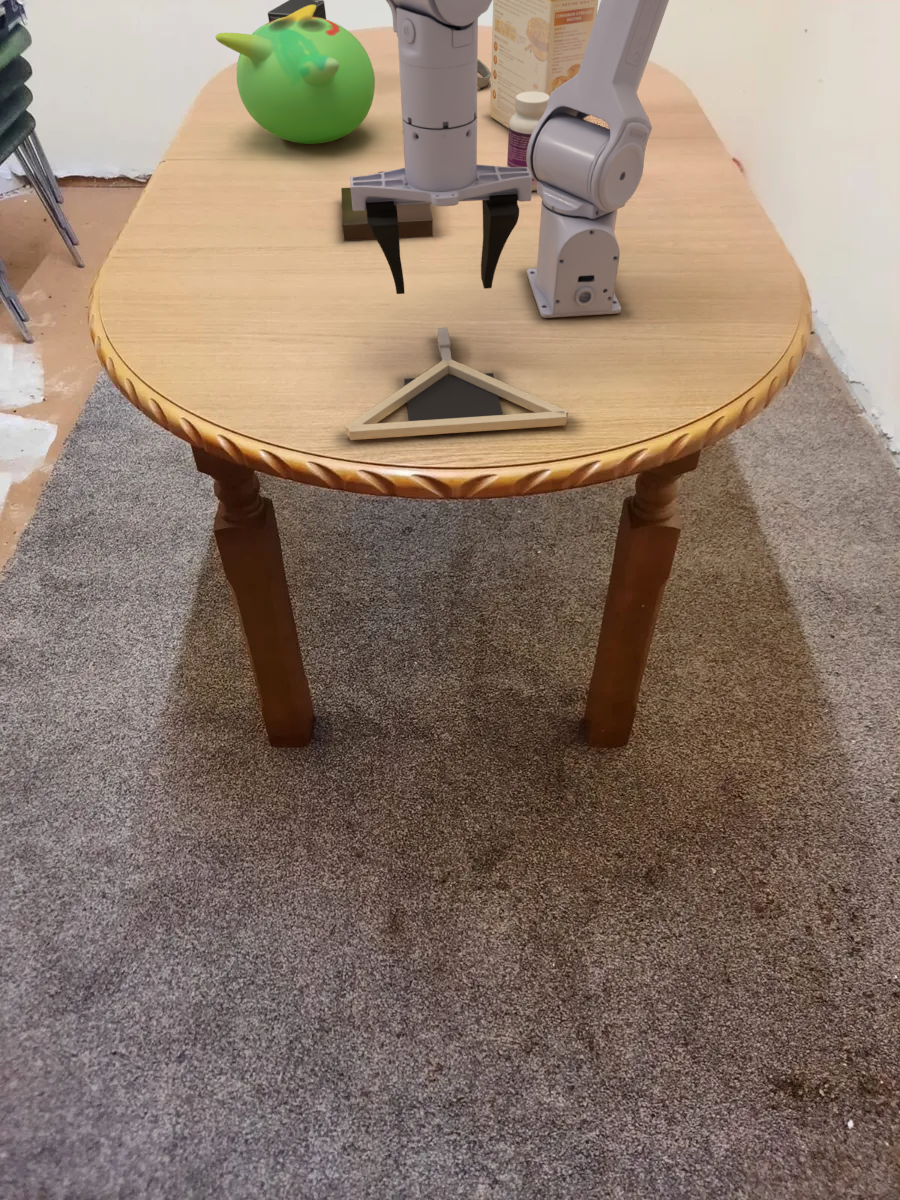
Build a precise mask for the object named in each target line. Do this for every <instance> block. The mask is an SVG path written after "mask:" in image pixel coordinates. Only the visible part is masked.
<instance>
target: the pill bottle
mask: <svg viewBox="0 0 900 1200" xmlns="http://www.w3.org/2000/svg"><path fill="white" fill-rule="evenodd" d="M549 97H550V96H549V95H547V94H545V93H542V92H523V93H520V94H518V95H517V96H516V102H515V108H516V111H517V113H515V114H514V115H513V116H512V117H511V119H510V121H509V128H508V133H507V135H508V137H507V138H508V139H507V163H506V167H527V160H526V156H527V148H528V143H529V140H530V137H531V134H532V132H533V130H534V128H535V127H536V125H537V124H538V122H539V121H540V119H541V118H542V116H543V114H544V112H545V110H546V107H547V104H548V101H549ZM537 184H538V182H536V181H535V180H534V179H533V178H532V192H534V191H535V192H536V191H537Z"/></svg>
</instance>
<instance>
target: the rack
mask: <svg viewBox="0 0 900 1200" xmlns="http://www.w3.org/2000/svg"><path fill="white" fill-rule="evenodd" d="M382 172H383V171H379V172H378V173H382ZM340 189H341V224H342V233H343V241H344V242H346V241H364V240H376V238H375V237H374V235H373V234H372V232H371V229H370V227H369V225H368V221H367V209H366V210H364V211H353V207H352V197H351V187H341V188H340ZM430 206H431V205H430V203H425V204H407V205H396V207H397V217H398V225H399V239H402V238H416V237H418V238H419V237H433V235H434V233H433V232H434V231H433V230H434V229H433V217H432V211H431V207H430Z"/></svg>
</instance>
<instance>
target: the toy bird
mask: <svg viewBox="0 0 900 1200" xmlns="http://www.w3.org/2000/svg"><path fill="white" fill-rule="evenodd" d="M315 10H316V5H308V6H306V7H303V8H301V9H299V10H297V11H296V12H294V13H292V14H290V15H288V16H287V17H283V18H279V19H276V20H273V21H271V22H269V21H268V22H267V23H265V24H263V25H261V26H260V27H258V28H257V29H256V30H254V31H253V32H252V33H251V34H250V33H239V32H220V33H217V34H216V35H215V40H216V41H217V42H218V43H220V44H221V45H223V46H224V47H227V48H228V49H230V50H232V51H235V52H236V53H238V54H239V55H238V59H237V63H236V85H237V90H238V94H239V96H240V100H241V102H242V104H243V106H244V107H245V109H246V111H247V113H248V114H249V115H250V116H251V118H252V119H253V120H254V122H256V123H257V124H258V125H259V126H260V127H261V128H263V129H264V130H265V131H267V132H269V133H270V134H272V135H274V136H275V137H278V138H280V139H283V140H285V141H288V142H293V143H296V144H305V145H312V144H313V145H316V144H325V143H330V142H333V141H337V140H339V139H342V138H343V137H346V136H347V135H349V134H350V133H352V132H354V131H355V130H356V129H357V128H358V127H359V126H361V124H362V123H363V122H364V120H365V119H366V117H367V116H368V114H369V112H370V109H371V107H372V104H373V101H374V96H375V89H376V82H375V72H374V68H373V65H372V61H371V59H370V56H369V54H368V52H367V50H366V49H365V47H364V46H363V44H362V42H360V40H359V39H358V38H357V37H356V36H355V35H354V34H352V32H351V31H350V30H348V29H346V28H345V27H343V26H342V25H340V24H338V23H336V22H334V21H331V20H329V19H327V18H326V19H323V18H319V17H313V14H314V12H315Z"/></svg>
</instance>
